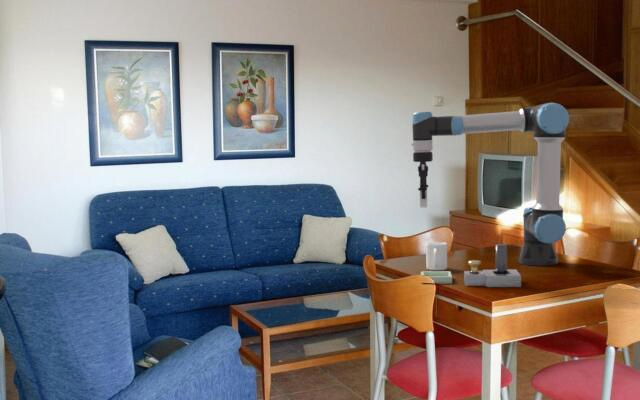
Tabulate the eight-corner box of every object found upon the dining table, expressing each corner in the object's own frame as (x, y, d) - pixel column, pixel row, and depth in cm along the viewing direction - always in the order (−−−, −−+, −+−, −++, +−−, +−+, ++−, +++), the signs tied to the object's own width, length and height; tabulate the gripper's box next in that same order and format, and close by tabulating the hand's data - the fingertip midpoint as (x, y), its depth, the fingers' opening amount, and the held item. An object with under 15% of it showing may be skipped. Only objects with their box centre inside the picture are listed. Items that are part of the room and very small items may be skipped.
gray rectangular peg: (506, 282, 276) (506, 244, 275) (507, 284, 272) (507, 245, 271) (495, 282, 277) (494, 244, 276) (496, 284, 273) (496, 245, 272)
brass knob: (480, 274, 277) (479, 260, 277) (481, 276, 273) (481, 262, 272) (467, 274, 278) (467, 260, 277) (468, 276, 273) (468, 262, 273)
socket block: (516, 280, 280) (516, 269, 279) (521, 286, 268) (520, 275, 268) (463, 280, 282) (463, 269, 282) (466, 287, 270) (465, 276, 270)
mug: (446, 272, 299) (445, 246, 298) (425, 272, 301) (424, 246, 300) (447, 267, 311) (447, 242, 310) (427, 266, 312) (426, 241, 312)
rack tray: (450, 277, 288) (450, 271, 288) (452, 283, 277) (452, 276, 277) (421, 278, 289) (420, 271, 289) (421, 283, 278) (421, 277, 278)
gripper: (413, 150, 311) (414, 202, 313) (412, 152, 286) (413, 209, 288) (432, 150, 310) (432, 202, 312) (432, 152, 285) (433, 208, 287)
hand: (423, 205), depth 300 cm, fingers open, 13 cm apart
